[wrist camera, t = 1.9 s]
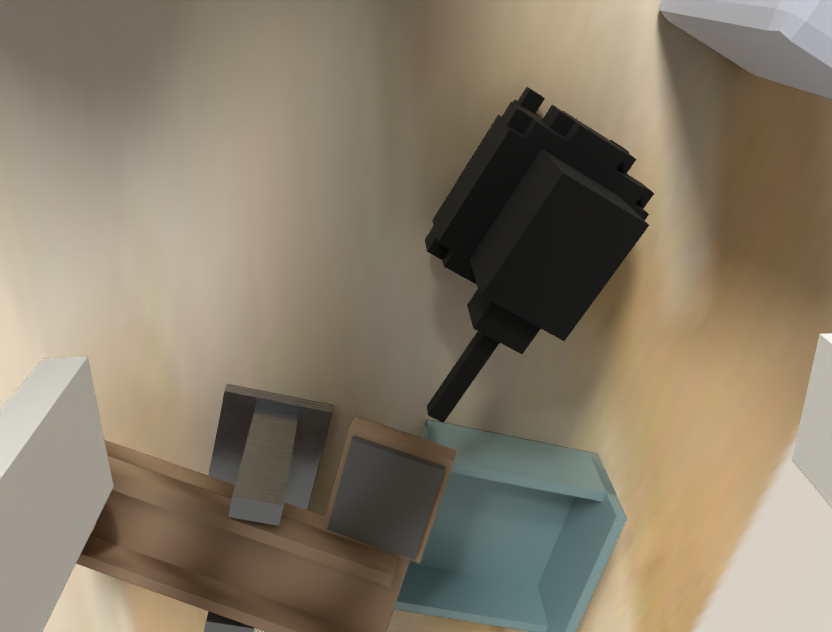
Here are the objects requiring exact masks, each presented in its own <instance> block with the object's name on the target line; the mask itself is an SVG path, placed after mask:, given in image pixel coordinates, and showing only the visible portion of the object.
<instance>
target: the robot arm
mask: <svg viewBox="0 0 832 632" xmlns="http://www.w3.org/2000/svg"><path fill="white" fill-rule="evenodd" d="M792 461H793V462H794V464H795V465H796V466H797V467H798V468H799V470H800V471H801V472H802V473H803V474H804V476H805V477H806V478H807V479H808V480H809V482H810V483H811V484H812V485H813V486H814V488H815V489H816V490H817V491H818V492H819V494H820V495H821V496H822V497H823V498H824V500H825V501H826V502H827V503H828V504H829V506H830V507H831V508H832V333H829V334H819V339H818V344H817V348H816V353H815V357H814V362H813V366H812V371H811V376H810V380H809V385H808V389H807V394H806V398H805V403H804V408H803V412H802V417H801V421H800V426H799V430H798V435H797V439H796V444H795V449H794V453H793V458H792ZM113 487H114V486H113V481H112V476H111V471H110V466H109V461H108V456H107V451H106V446H105V441H104V436H103V431H102V426H101V421H100V416H99V411H98V406H97V401H96V396H95V391H94V386H93V381H92V376H91V371H90V366H89V361H88V357H61V358H43V359H42V360H41V361H40V362H39V364H38V365H37V366H36V367H35V369H34V370H33V371H32V372H31V373H30V375H29V376H28V377H27V378H26V379H25V381H24V382H23V383H22V384H21V386H20V387H19V388H18V389H17V390H16V392H15V393H14V394H13V395H12V396H11V398H10V399H9V400H8V401H7V403H6V404H5V405H4V406H3V407H2V409H1V410H0V632H43V630H44V628H45V626H46V624H47V622H48V619H49V617H50V615H51V613H52V611H53V609H54V607H55V605H56V603H57V601H58V599H59V597H60V595H61V593H62V591H63V589H64V587H65V585H66V583H67V581H68V579H69V577H70V575H71V572H72V570H73V568H74V566H75V564H76V562H77V560H78V558H79V556H80V554H81V552H82V550H83V548H84V546H85V544H86V542H87V540H88V538H89V536H90V534H91V532H92V530H93V527H94V525H95V523H96V521H97V519H98V517H99V515H100V513H101V511H102V509H103V507H104V505H105V503H106V501H107V499H108V497H109V495H110V493H111V491H112V489H113Z"/></svg>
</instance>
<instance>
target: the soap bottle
mask: <svg viewBox="0 0 832 632" xmlns="http://www.w3.org/2000/svg"><path fill="white" fill-rule="evenodd" d="M658 9H659V10H660V11H661V12H662V14H663V15H664V17H665V18H666V20H667V21H669V22H671V23H672V24H674V25H675V26H677V27H678V28H680V29H682V30H683V31H685V32H686V33H688V34H689V35H691V36H693V37H694V38H696V39H697V40H699V41H700V42H702V43H704V44H705V45H707V46H708V47H710V48H712V49H713V50H715V51H716V52H718V53H719V54H721V55H723V56H724V57H726V58H727V59H729V60H730V61H732V62H734V63H735V64H737V65H738V66H740V67H742V68H743V69H745V70H746V71H748V72H749V73H751V74H753V75H755V76H758V77H761V78H764V79H767V80H771V81H774V82H777V83H780V84H784V85H787V86H790V87H793V88H796V89H800V90H803V91H806V92H809V93H813V94H816V95H819V96H822V97H826V98H829V99H832V0H662V1H661V3H660V6H659V8H658Z"/></svg>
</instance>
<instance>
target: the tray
mask: <svg viewBox="0 0 832 632" xmlns="http://www.w3.org/2000/svg"><path fill="white" fill-rule="evenodd" d="M422 438H423V439H426V440H429V441H432V442H435V443H438V444H441V445H444V446H447V447H450V448H453V449H456V450H457V452H456V456H455V459H454V463H453V466H452V469H451V472H450V475H449V478H448V480H447V483H446V486H445V489H444V492H443V495H442V498H441V501H440V504H439V507H438V510H437V513H436V516H435V519H434V522H433V525H432V528H431V531H430V534H429V537H428V540H427V543H426V546H425V549H424V552H423V555H422V558H421V561H420V563H418V562H415V561H412V560H410V561H409V564H408V567H407V570H406V573H405V576H404V579H403V582H402V585H401V588H400V591H399V594H398V597H397V600H396V603H395V606H394V609H396V610H402V611H408V612H414V613H420V614H426V615H432V616H439V617H445V618H451V619H457V620H463V621H469V622H475V623H481V624H488V625H494V626H500V627H506V628H512V629H518V630H524V631H530V632H576V630H577V628H578V625H579V623H580V621H581V619H582V616H583V614H584V612H585V610H586V608H587V605H588V603H589V601H590V599H591V597H592V594H593V592H594V590H595V588H596V586H597V583H598V581H599V579H600V577H601V575H602V572H603V570H604V568H605V566H606V564H607V561H608V559H609V557H610V555H611V553H612V550H613V548H614V546H615V544H616V542H617V539H618V537H619V535H620V533H621V531H622V528H623V526H624V524H625V522H626V519H627V517H626V515H625V513H624V510H623V508H622V506H621V504H620V502H619V499H618V497H617V495H616V493H615V491H614V488H613V486H612V484H611V482H610V480H609V477H608V475H607V473H606V471H605V469H604V466H603V464H602V462H601V460H600V458H599V455H598V454H596V453H591V452H586V451H581V450H576V449H571V448H566V447H561V446H556V445H551V444H546V443H541V442H536V441H531V440H526V439H521V438H517V437H512V436H507V435H502V434H497V433H492V432H487V431H482V430H477V429H472V428H467V427H462V426H457V425H452V424H447V423H442V422H437V421H432V420H427V422H426V425H425V428H424V431H423V434H422Z"/></svg>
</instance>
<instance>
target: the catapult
mask: <svg viewBox="0 0 832 632" xmlns="http://www.w3.org/2000/svg"><path fill="white" fill-rule="evenodd" d="M104 441H105V446H106V451H107V456H108V461H109V466H110V471H111V476H112V481H113V486H114V487H113V489H112V491H111V493H110V495H109V497H108V499H107V501H106V503H105V505H104V507H103V509H102V511H101V513H100V515H99V517H98V519H97V521H96V525H95V527H94V530H93V531H92V533H91V534H90V536H89V538H88V540H87V542H86V544H85V546H84V548H83V550H82V552H81V554H80V556H79V558H78V560H77V562H76V564H79V565H82V566H85V567H87V568H90V569H93V570H96V571H99V572H101V573H104V574H107V575H110V576H113V577H115V578H118V579H121V580H124V581H126V582H129V583H132V584H135V585H138V586H140V587H143V588H146V589H149V590H151V591H154V592H157V593H160V594H163V595H165V596H168V597H171V598H174V599H176V600H179V601H182V602H185V603H188V604H190V605H193V606H196V607H199V608H202V609H204V610H207V611H210V612H213V613H215V614H218V615H221V616H224V617H227V618H229V619H232V620H235V621H238V622H240V623H243V624H246V625H249V626H252V627H254V628H257V629H260V630H263V631H265V632H386V631H387V628H388V625H389V622H390V619H391V616H392V612H393V609H394V606H395V603H396V600H397V597H398V594H399V591H400V588H401V585H402V582H403V579H404V576H405V573H406V570H407V567H408V564H409V561H410V560H412V561H415V562H418V563H420V561H421V558H422V555H423V552H424V549H425V546H426V543H427V540H428V537H429V534H430V531H431V528H432V525H433V522H434V519H435V516H436V513H437V510H438V507H439V504H440V501H441V498H442V495H443V492H444V489H445V486H446V483H447V480H448V478H449V475H450V472H451V469H452V466H453V463H454V459H455V456H456V452H457V450H456V449H453V448H450V447H447V446H444V445H441V444H438V443H435V442H432V441H429V440H426V439H423V438H420V437H417V436H414V435H411V434H408V433H405V432H402V431H399V430H396V429H393V428H390V427H387V426H384V425H381V424H378V423H375V422H372V421H369V420H366V419H363V418H360V417H357V416H355V417H354V419H353V420H352V422H351V424H350V426H349V429H348V433H347V437H346V441H345V444H344V448H343V452H342V456H341V459H340V463H339V467H338V470H337V474H336V478H335V482H334V485H333V489H332V493H331V497H330V500H329V504H328V508H327V511H326V515H325V516H323V515H320V514H317V513H314V512H311V511H308V510H305V509H302V508H299V507H297V506H294V505H291V504H288V503H285V502H284V507H283V511H282V515H281V520H280V524H279V526H277V525H271V524H266V523H260V522H254V521H248V520H243V519H237V518H231V517H228V515H229V510H230V505H231V500H232V496H233V492H234V488H235V485H233V484H230V483H227V482H224V481H221V480H218V479H216V478H213V477H210V476H207V475H204V474H201V473H198V472H195V471H192V470H190V469H187V468H184V467H181V466H178V465H175V464H172V463H169V462H166V461H164V460H161V459H158V458H155V457H152V456H149V455H146V454H143V453H140V452H137V451H135V450H132V449H129V448H126V447H123V446H120V445H117V444H114V443H111V442H109V441H106V440H104Z"/></svg>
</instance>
